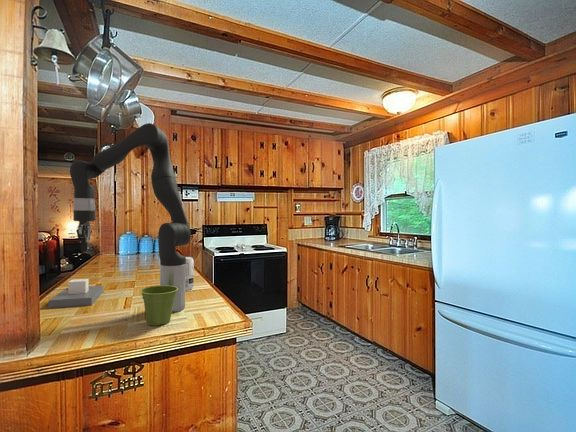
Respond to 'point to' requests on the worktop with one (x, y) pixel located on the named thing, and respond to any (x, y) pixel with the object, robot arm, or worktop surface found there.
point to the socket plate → (76, 298)
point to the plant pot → (158, 303)
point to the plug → (78, 286)
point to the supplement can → (189, 273)
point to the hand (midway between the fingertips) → (84, 251)
